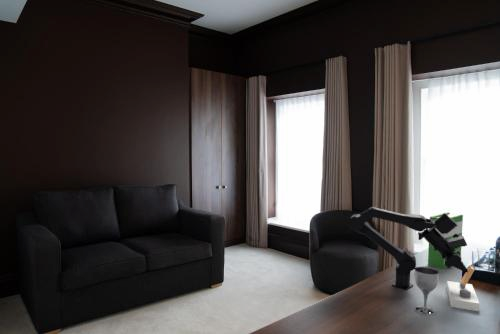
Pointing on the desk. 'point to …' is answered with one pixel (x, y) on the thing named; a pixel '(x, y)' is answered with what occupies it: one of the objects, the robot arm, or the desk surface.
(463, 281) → the paddle lever
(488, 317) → the desk surface
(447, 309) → the desk surface
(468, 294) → the push button
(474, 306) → the switch panel
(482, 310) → the desk surface
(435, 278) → the wine glass
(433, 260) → the cereal box
